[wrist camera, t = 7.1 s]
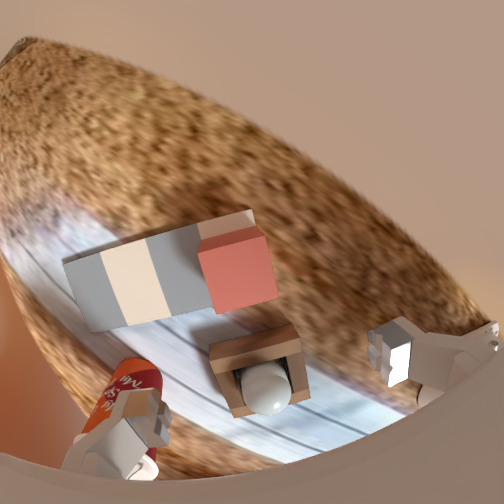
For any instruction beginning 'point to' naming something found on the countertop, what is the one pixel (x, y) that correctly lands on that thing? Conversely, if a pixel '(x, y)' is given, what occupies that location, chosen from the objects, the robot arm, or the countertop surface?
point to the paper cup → (125, 378)
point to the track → (147, 275)
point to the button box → (254, 352)
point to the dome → (265, 387)
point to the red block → (237, 269)
